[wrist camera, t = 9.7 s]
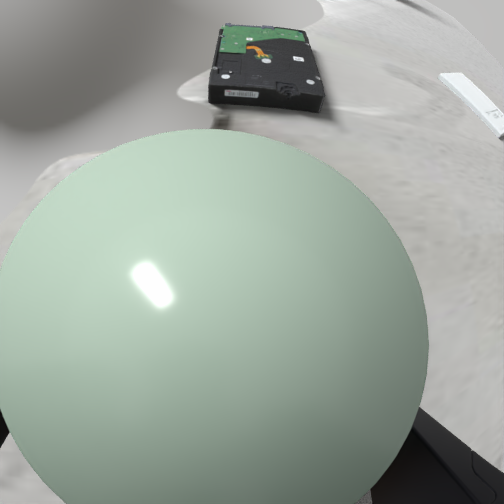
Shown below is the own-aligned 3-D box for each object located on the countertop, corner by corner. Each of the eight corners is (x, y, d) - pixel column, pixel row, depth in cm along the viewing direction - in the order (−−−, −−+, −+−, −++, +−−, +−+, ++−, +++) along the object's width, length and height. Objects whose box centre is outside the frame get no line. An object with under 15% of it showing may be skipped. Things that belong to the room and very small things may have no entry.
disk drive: (320, 118, 28) (301, 46, 34) (328, 96, 25) (305, 29, 31) (207, 109, 27) (218, 39, 33) (207, 85, 24) (219, 20, 30)
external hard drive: (458, 79, 38) (511, 133, 34) (436, 81, 36) (496, 141, 32) (462, 72, 37) (516, 126, 33) (440, 73, 34) (502, 133, 30)
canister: (280, 430, 14) (451, 488, 3) (161, 439, 13) (6, 523, 2) (265, 319, 17) (362, 131, 5) (153, 327, 16) (30, 151, 4)
